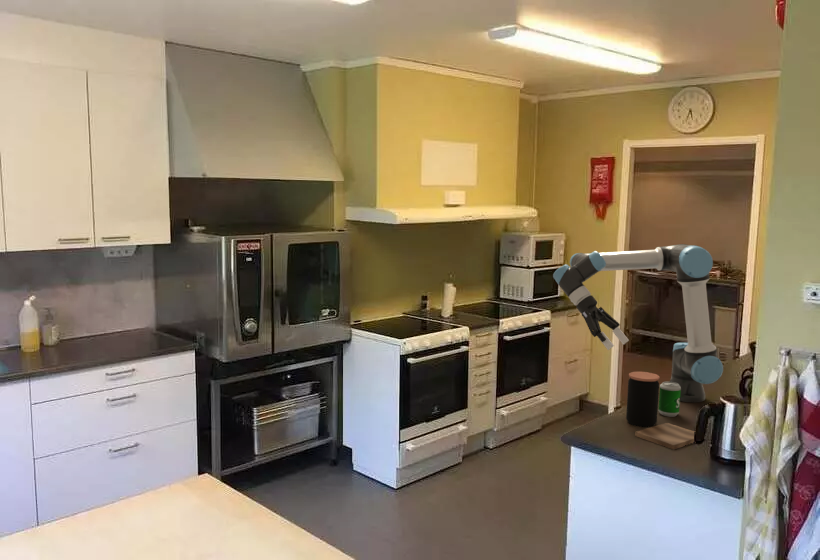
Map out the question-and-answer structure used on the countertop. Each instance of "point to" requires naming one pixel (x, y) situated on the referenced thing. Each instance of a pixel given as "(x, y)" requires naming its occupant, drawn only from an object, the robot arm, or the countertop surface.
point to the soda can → (669, 399)
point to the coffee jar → (642, 399)
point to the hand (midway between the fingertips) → (618, 345)
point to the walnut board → (667, 435)
